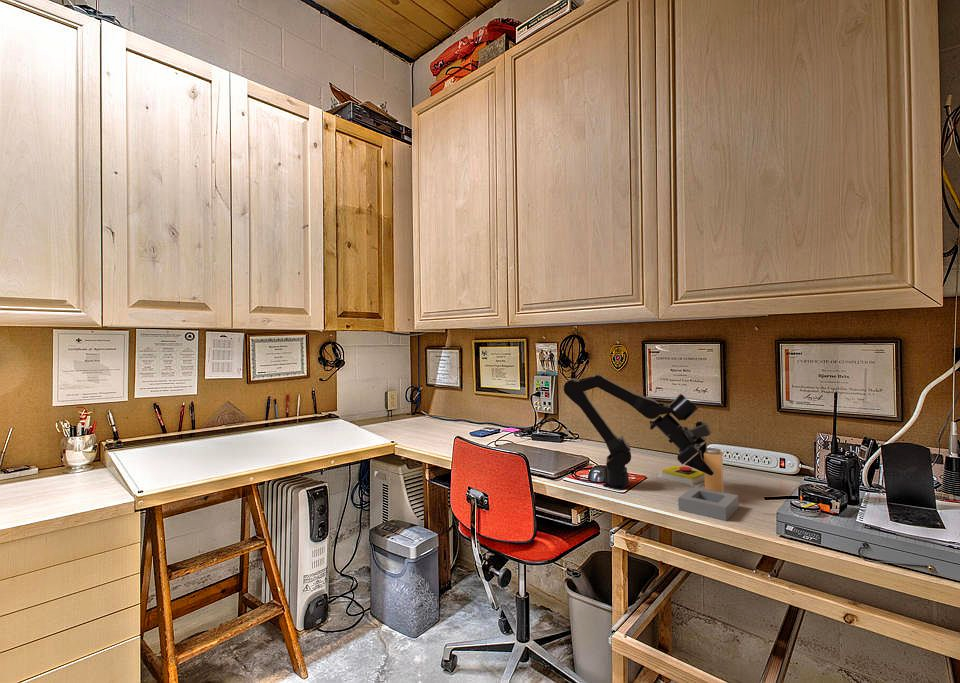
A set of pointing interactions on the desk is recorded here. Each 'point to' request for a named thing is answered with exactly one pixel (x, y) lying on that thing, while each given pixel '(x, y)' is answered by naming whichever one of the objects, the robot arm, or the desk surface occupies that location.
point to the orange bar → (714, 469)
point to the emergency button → (683, 475)
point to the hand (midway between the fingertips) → (714, 470)
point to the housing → (708, 503)
